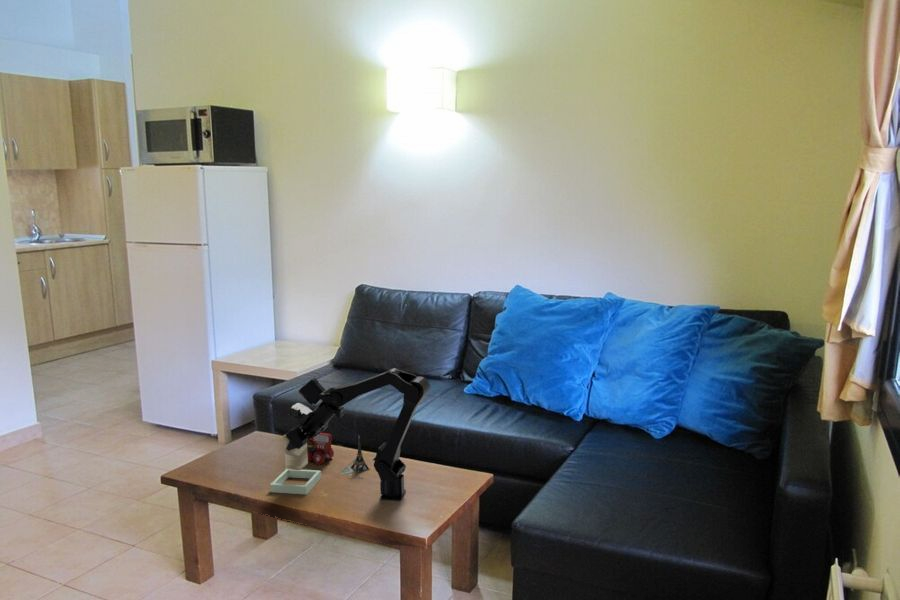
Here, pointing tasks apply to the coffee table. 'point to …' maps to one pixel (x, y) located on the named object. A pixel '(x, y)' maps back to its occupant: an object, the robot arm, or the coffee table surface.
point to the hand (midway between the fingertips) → (291, 446)
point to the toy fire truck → (320, 448)
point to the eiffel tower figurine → (358, 462)
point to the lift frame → (295, 489)
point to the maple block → (295, 456)
